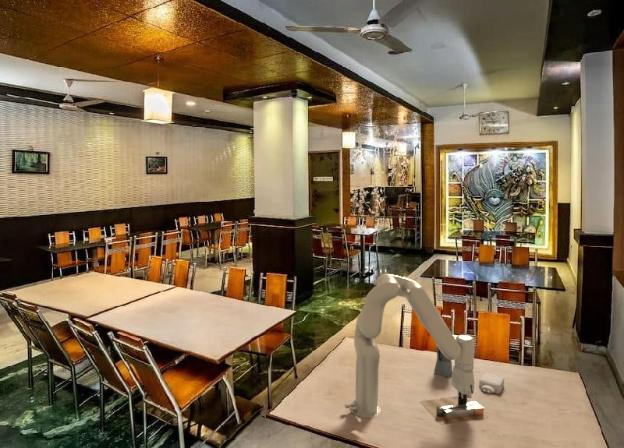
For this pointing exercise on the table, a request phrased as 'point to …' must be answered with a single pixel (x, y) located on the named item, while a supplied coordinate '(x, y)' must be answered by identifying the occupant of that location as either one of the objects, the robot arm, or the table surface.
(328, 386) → the table surface
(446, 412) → the bar
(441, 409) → the tong leg
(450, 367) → the moka pot
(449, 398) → the board
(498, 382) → the charger
